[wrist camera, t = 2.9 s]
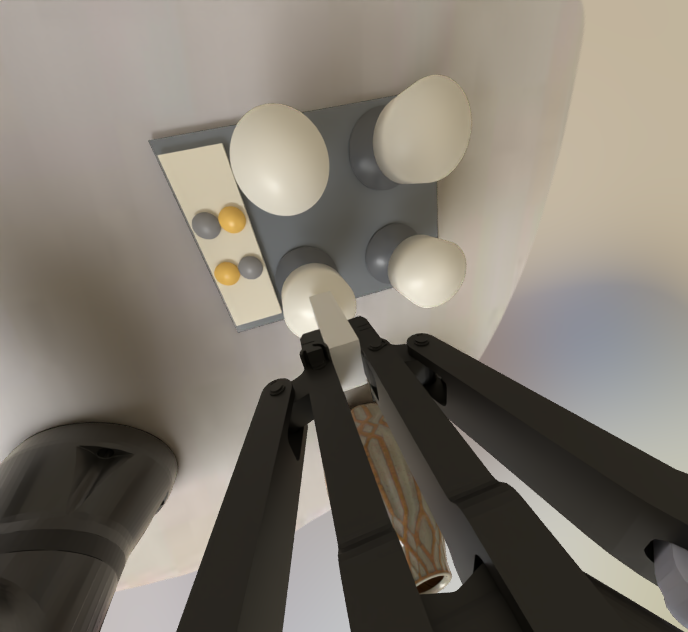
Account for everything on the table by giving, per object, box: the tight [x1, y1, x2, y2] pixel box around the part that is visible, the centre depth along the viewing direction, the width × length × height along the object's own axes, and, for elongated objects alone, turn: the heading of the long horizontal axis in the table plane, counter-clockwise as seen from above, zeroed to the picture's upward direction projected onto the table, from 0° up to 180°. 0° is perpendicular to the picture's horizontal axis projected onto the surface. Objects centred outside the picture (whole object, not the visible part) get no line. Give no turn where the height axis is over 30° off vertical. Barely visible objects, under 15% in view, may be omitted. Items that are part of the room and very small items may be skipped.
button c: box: [388, 235, 466, 308], centre depth 21 cm, size 5×5×5 cm
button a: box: [281, 263, 356, 338], centre depth 20 cm, size 5×5×5 cm
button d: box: [373, 75, 472, 184], centre depth 17 cm, size 5×5×5 cm
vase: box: [324, 403, 452, 594], centre depth 29 cm, size 13×13×18 cm
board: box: [149, 95, 438, 333], centre depth 23 cm, size 22×16×2 cm
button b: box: [230, 103, 329, 216], centre depth 16 cm, size 5×5×5 cm
